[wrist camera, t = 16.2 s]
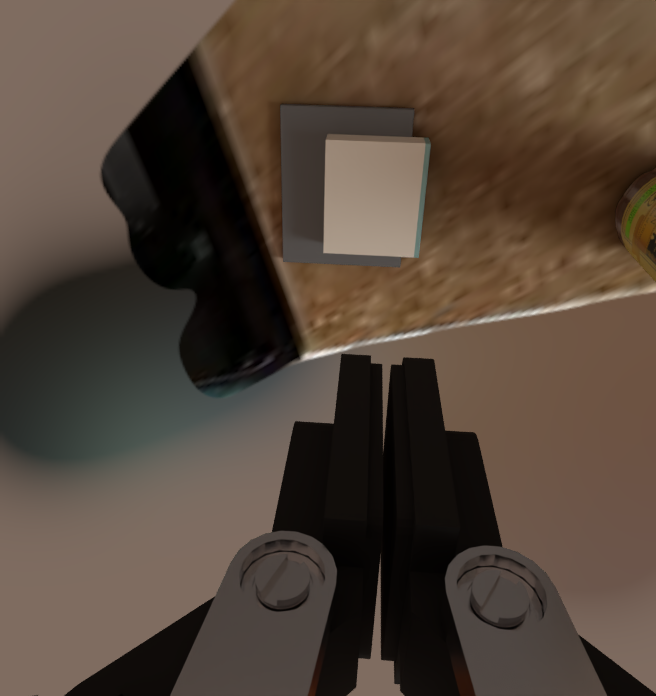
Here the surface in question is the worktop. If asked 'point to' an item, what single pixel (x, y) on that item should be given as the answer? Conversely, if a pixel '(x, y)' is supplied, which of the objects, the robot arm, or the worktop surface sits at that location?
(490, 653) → the robot arm
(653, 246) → the sauce bottle
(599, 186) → the worktop surface
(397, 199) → the cream tile
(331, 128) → the rubber mat
